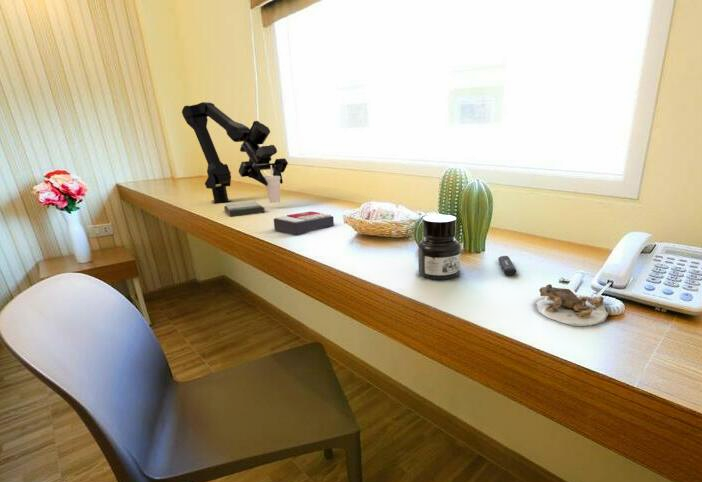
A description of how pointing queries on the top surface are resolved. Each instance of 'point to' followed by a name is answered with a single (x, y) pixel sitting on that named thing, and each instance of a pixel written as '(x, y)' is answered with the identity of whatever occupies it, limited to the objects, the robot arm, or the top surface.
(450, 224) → the ink bottle
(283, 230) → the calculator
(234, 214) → the scale
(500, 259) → the usb stick
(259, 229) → the top surface
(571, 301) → the frog figurine
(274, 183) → the smoothie
